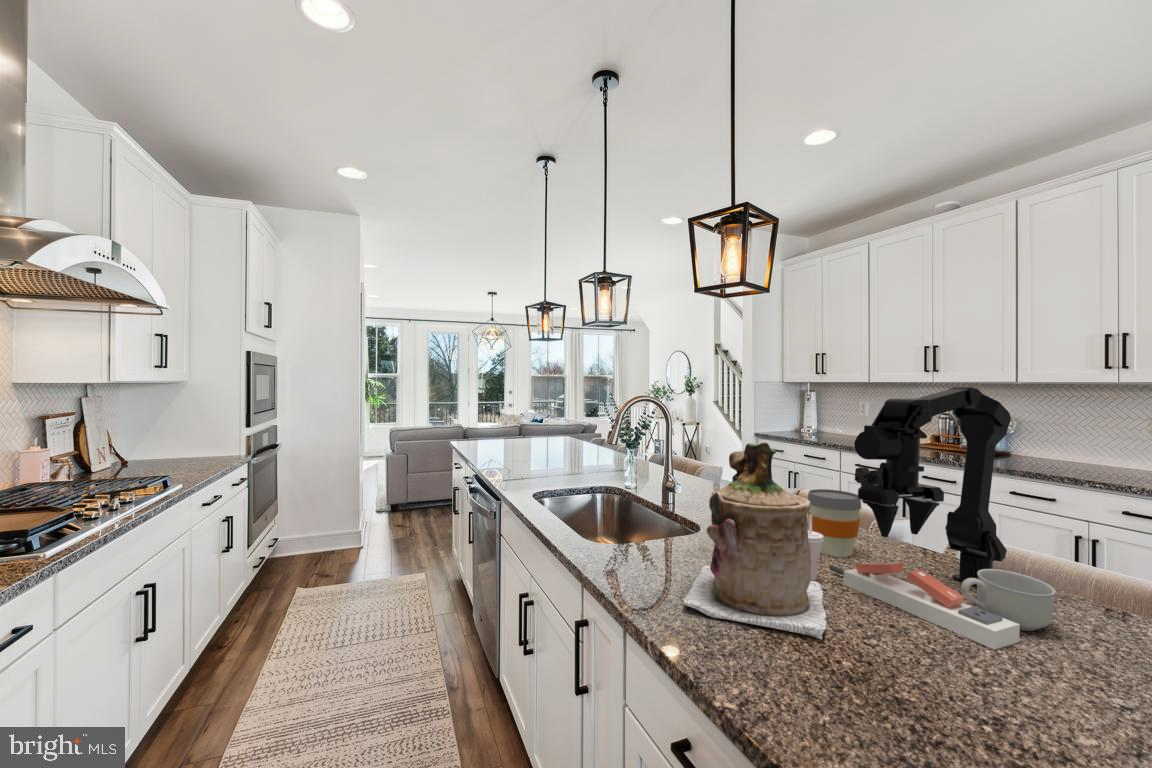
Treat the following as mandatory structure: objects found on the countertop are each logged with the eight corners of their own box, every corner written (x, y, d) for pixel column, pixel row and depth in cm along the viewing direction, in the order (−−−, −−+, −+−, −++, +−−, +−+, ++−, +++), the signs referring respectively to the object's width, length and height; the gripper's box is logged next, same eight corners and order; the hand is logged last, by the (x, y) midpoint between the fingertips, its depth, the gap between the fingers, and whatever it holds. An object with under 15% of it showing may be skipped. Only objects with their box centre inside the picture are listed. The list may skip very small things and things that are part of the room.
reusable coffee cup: (800, 542, 136) (801, 488, 136) (848, 545, 134) (849, 490, 134) (815, 558, 123) (816, 498, 123) (869, 561, 121) (870, 500, 121)
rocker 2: (919, 576, 97) (921, 568, 96) (961, 604, 90) (964, 597, 89) (906, 578, 95) (909, 571, 95) (948, 607, 88) (952, 600, 88)
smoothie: (826, 584, 107) (827, 519, 107) (795, 581, 108) (796, 517, 108) (818, 573, 113) (819, 512, 113) (788, 570, 114) (789, 510, 114)
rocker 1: (869, 570, 107) (867, 561, 107) (904, 571, 99) (901, 562, 100) (857, 572, 105) (855, 563, 106) (892, 573, 98) (889, 564, 99)
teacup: (1034, 615, 93) (1035, 573, 93) (1070, 643, 83) (1070, 595, 83) (947, 603, 98) (947, 563, 98) (970, 628, 88) (971, 583, 88)
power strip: (842, 570, 114) (842, 553, 115) (1019, 642, 83) (1019, 618, 83) (820, 574, 112) (820, 557, 112) (994, 649, 80) (994, 625, 80)
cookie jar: (823, 590, 103) (825, 438, 104) (828, 645, 81) (831, 451, 81) (703, 570, 114) (706, 431, 114) (679, 613, 91) (682, 441, 92)
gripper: (894, 454, 113) (891, 522, 112) (836, 454, 105) (833, 527, 105) (946, 461, 102) (944, 536, 102) (886, 462, 95) (883, 543, 95)
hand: (899, 535), depth 101 cm, fingers open, 9 cm apart
